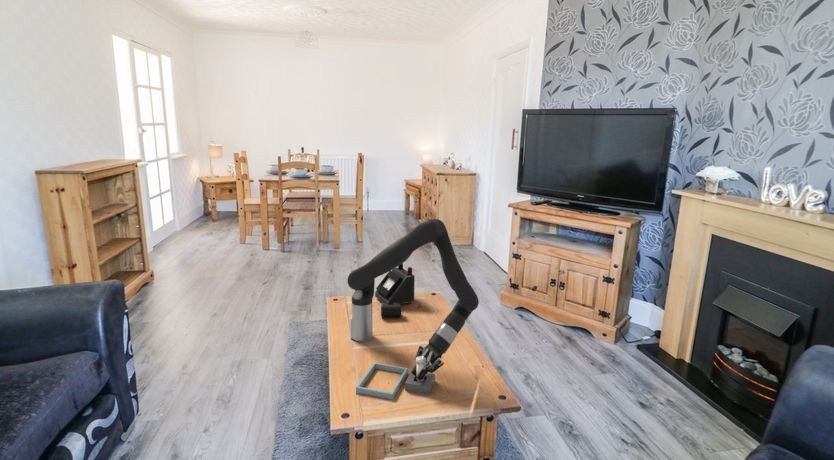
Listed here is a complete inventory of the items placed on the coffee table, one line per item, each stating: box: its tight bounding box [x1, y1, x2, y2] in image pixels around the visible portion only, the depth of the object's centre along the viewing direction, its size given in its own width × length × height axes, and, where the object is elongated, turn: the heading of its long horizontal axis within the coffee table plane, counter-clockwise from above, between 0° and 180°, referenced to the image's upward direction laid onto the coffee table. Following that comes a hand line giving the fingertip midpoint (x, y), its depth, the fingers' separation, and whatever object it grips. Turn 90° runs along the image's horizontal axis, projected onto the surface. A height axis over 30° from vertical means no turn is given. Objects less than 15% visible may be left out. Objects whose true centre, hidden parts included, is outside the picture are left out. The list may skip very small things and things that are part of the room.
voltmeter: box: [374, 263, 416, 305], centre depth 244 cm, size 16×16×20 cm
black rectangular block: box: [380, 302, 402, 319], centre depth 225 cm, size 10×7×7 cm
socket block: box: [404, 370, 436, 396], centre depth 165 cm, size 9×9×4 cm
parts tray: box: [355, 362, 409, 400], centre depth 167 cm, size 14×18×3 cm
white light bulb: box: [415, 356, 426, 383], centre depth 164 cm, size 4×4×11 cm
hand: (415, 376), depth 163 cm, fingers closed on white light bulb, 3 cm apart
